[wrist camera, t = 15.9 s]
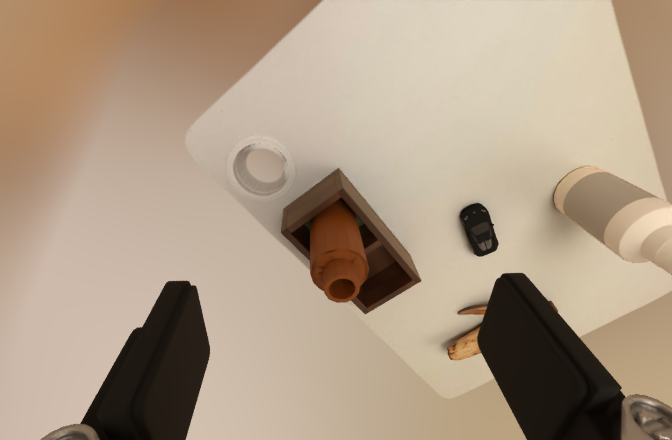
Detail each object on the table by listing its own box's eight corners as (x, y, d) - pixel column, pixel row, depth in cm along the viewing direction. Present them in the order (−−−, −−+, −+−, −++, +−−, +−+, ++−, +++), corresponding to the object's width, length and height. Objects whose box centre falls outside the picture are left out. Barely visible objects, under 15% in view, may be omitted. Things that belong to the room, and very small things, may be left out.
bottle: (301, 223, 43) (299, 299, 32) (324, 188, 41) (331, 255, 29) (339, 241, 45) (351, 319, 33) (363, 208, 43) (384, 279, 31)
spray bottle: (605, 156, 43) (776, 234, 27) (607, 200, 46) (761, 293, 30) (549, 178, 44) (684, 267, 28) (555, 220, 47) (678, 321, 31)
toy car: (456, 209, 45) (462, 218, 43) (481, 198, 44) (489, 206, 42) (472, 254, 49) (478, 263, 47) (496, 244, 48) (503, 252, 46)
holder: (359, 286, 50) (365, 314, 45) (283, 208, 43) (280, 232, 38) (410, 254, 48) (421, 281, 43) (338, 167, 41) (343, 187, 36)
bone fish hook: (540, 271, 52) (429, 321, 55) (560, 292, 48) (439, 344, 51) (553, 311, 56) (449, 356, 59) (573, 333, 52) (460, 380, 55)
